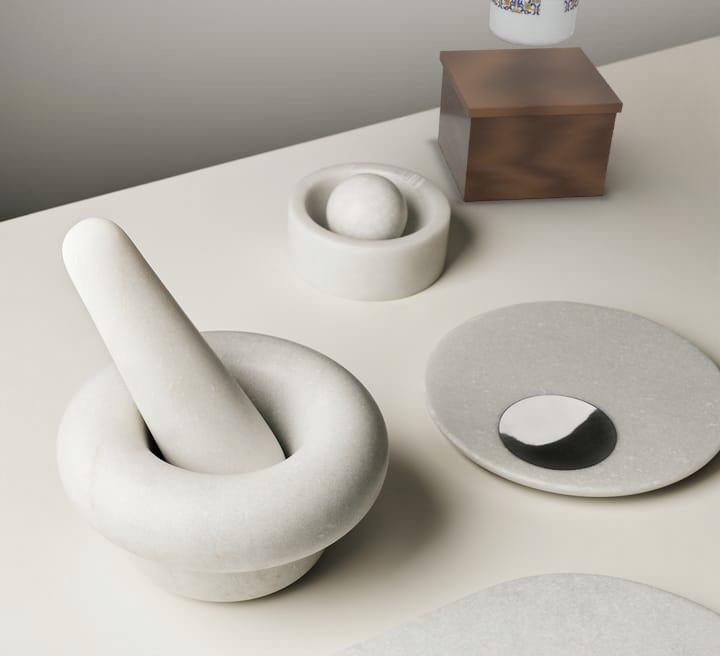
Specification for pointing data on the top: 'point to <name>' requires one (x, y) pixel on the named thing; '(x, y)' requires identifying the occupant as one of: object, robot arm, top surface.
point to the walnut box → (525, 123)
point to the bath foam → (533, 21)
